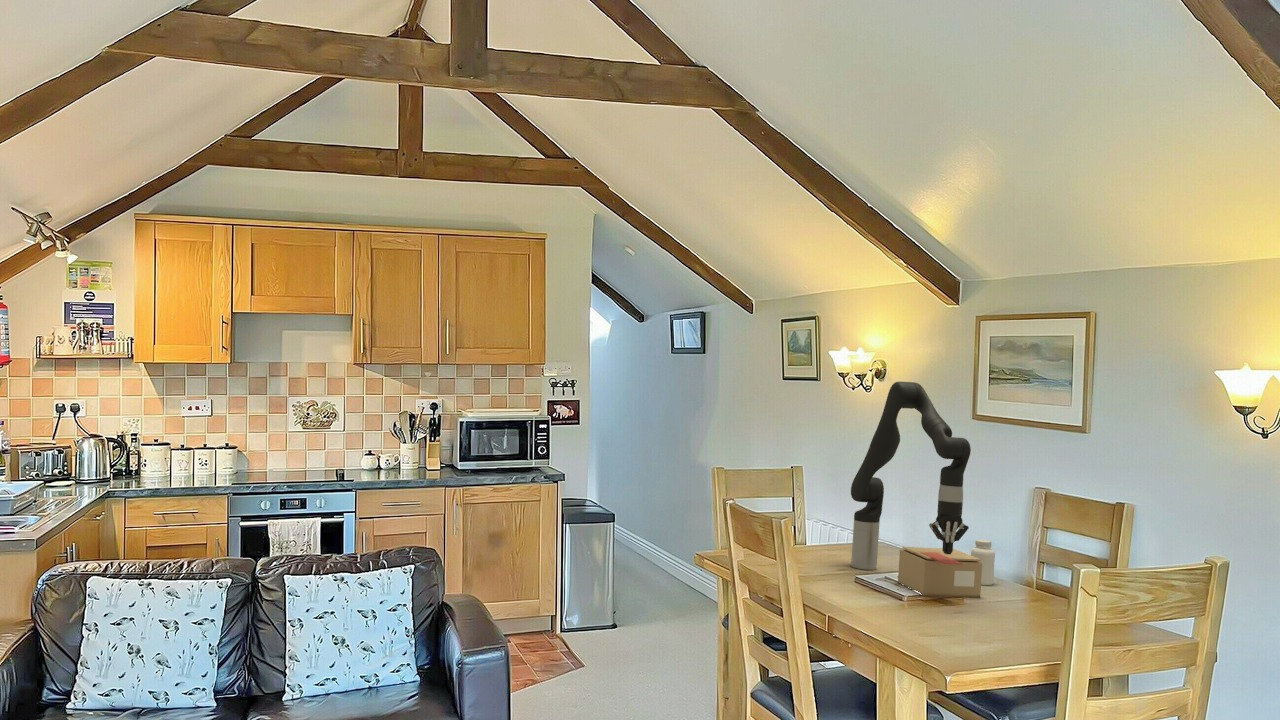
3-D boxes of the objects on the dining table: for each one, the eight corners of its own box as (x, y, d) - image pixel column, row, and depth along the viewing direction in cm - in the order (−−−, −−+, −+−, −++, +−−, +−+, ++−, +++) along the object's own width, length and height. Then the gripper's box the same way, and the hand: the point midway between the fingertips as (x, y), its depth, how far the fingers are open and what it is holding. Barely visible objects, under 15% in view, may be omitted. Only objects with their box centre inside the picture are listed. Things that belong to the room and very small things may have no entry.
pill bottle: (968, 583, 339) (971, 540, 340) (969, 579, 347) (972, 537, 347) (992, 586, 336) (995, 543, 337) (993, 582, 344) (996, 540, 344)
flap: (914, 553, 323) (914, 551, 323) (965, 555, 326) (965, 552, 326) (941, 565, 304) (941, 562, 304) (995, 567, 307) (995, 564, 307)
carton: (897, 582, 332) (900, 546, 332) (952, 584, 335) (954, 548, 336) (923, 595, 313) (925, 557, 314) (980, 597, 317) (982, 559, 317)
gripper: (963, 499, 315) (960, 552, 314) (925, 497, 313) (922, 551, 312) (975, 502, 307) (972, 556, 307) (936, 500, 305) (933, 555, 305)
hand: (947, 553), depth 310 cm, fingers closed
